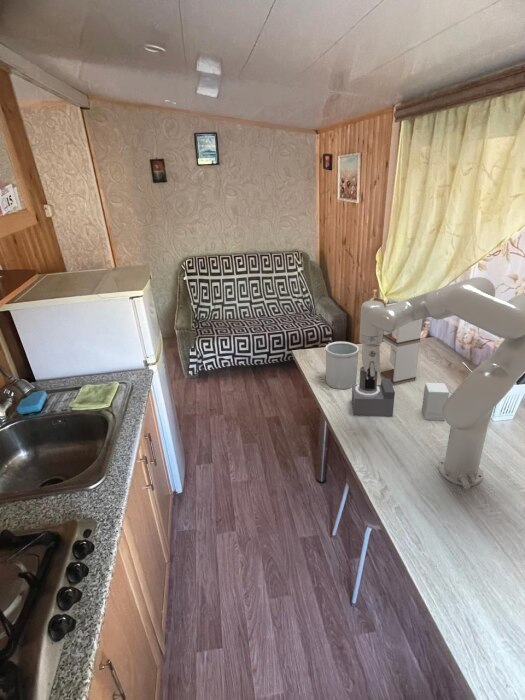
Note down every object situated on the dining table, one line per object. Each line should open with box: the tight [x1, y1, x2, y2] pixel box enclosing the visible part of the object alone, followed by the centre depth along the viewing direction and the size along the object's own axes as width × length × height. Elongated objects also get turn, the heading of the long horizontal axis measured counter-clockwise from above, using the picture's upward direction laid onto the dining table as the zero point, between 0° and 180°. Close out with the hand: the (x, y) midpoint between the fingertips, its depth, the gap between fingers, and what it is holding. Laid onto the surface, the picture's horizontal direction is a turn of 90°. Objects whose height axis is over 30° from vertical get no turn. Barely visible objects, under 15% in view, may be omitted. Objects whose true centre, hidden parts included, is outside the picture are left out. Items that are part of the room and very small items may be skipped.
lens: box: [359, 365, 379, 391], centre depth 138 cm, size 6×6×7 cm
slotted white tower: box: [380, 302, 424, 387], centre depth 173 cm, size 11×11×35 cm
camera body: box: [351, 377, 396, 417], centre depth 157 cm, size 11×15×11 cm
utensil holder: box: [324, 341, 360, 390], centre depth 177 cm, size 15×15×18 cm
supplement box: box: [421, 382, 450, 422], centre depth 149 cm, size 7×7×13 cm
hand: (368, 383), depth 139 cm, fingers closed on lens, 6 cm apart
